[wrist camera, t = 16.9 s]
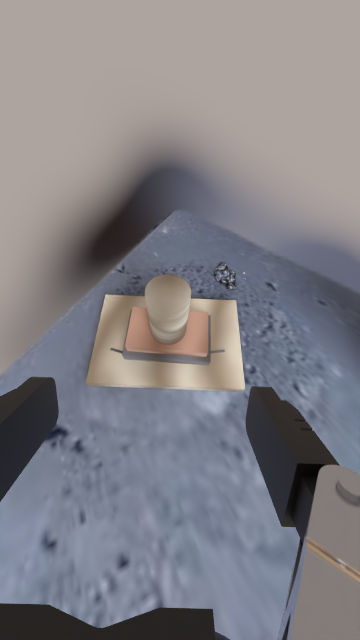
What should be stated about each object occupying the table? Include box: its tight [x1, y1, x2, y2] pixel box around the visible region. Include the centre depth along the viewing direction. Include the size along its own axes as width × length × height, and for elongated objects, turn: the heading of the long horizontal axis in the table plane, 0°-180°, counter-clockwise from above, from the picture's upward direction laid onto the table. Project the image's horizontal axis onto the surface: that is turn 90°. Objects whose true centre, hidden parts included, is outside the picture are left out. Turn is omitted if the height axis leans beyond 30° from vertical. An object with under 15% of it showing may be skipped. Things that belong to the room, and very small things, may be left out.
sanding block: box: [122, 274, 211, 365], centre depth 24 cm, size 10×6×10 cm, turn 86°
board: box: [86, 295, 245, 392], centre depth 29 cm, size 18×12×2 cm, turn 88°
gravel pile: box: [214, 262, 245, 290], centre depth 35 cm, size 7×8×2 cm
